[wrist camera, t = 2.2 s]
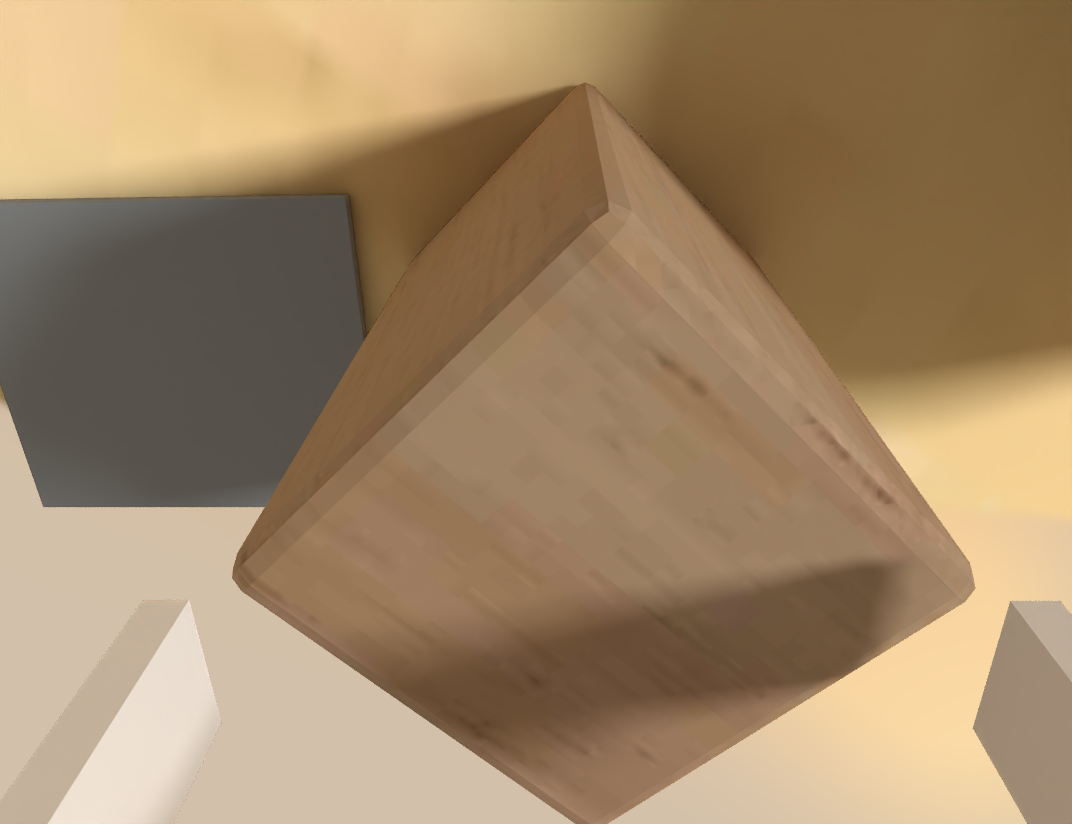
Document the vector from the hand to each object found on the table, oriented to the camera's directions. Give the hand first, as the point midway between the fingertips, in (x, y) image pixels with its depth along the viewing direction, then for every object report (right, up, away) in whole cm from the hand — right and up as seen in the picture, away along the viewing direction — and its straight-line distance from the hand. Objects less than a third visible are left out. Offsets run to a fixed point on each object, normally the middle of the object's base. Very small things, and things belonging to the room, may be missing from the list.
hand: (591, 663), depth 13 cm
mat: (-16, +6, +22) cm, 28 cm away
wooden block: (+1, +10, +19) cm, 22 cm away
